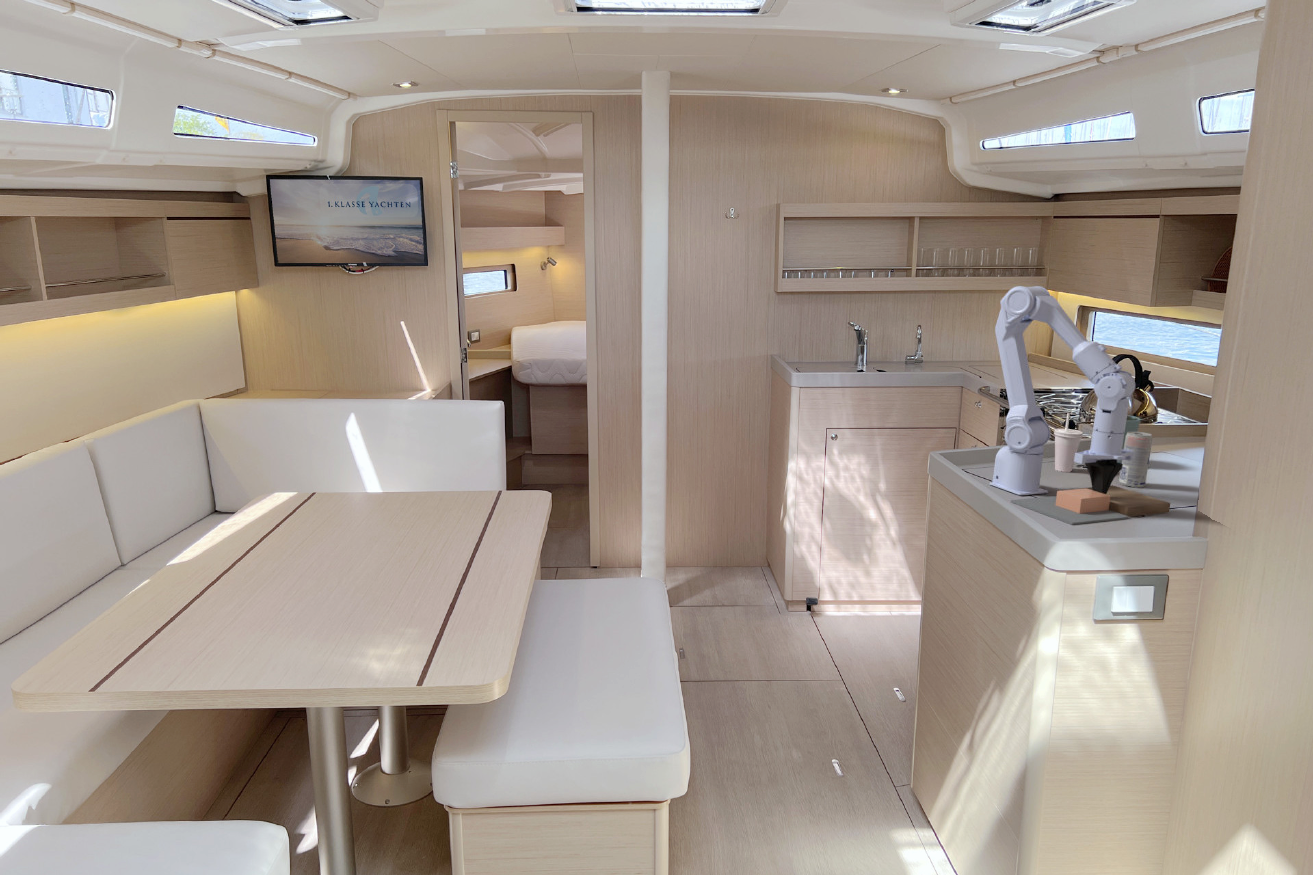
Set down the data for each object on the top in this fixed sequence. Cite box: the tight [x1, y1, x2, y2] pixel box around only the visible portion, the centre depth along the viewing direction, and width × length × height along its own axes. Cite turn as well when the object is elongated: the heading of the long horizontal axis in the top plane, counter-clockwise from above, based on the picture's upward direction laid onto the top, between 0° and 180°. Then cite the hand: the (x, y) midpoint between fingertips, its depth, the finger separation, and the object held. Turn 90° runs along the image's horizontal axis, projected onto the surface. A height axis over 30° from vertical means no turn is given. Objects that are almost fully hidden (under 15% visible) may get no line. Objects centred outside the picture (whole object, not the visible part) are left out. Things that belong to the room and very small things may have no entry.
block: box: [1056, 487, 1111, 513], centre depth 180 cm, size 6×8×3 cm
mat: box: [1010, 495, 1130, 526], centre depth 180 cm, size 16×15×1 cm
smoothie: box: [1053, 412, 1084, 473], centre depth 213 cm, size 6×6×14 cm
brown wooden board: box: [1070, 484, 1171, 518], centre depth 185 cm, size 14×12×2 cm
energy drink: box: [1118, 431, 1153, 488], centre depth 201 cm, size 5×5×12 cm
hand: (1099, 495), depth 182 cm, fingers closed
